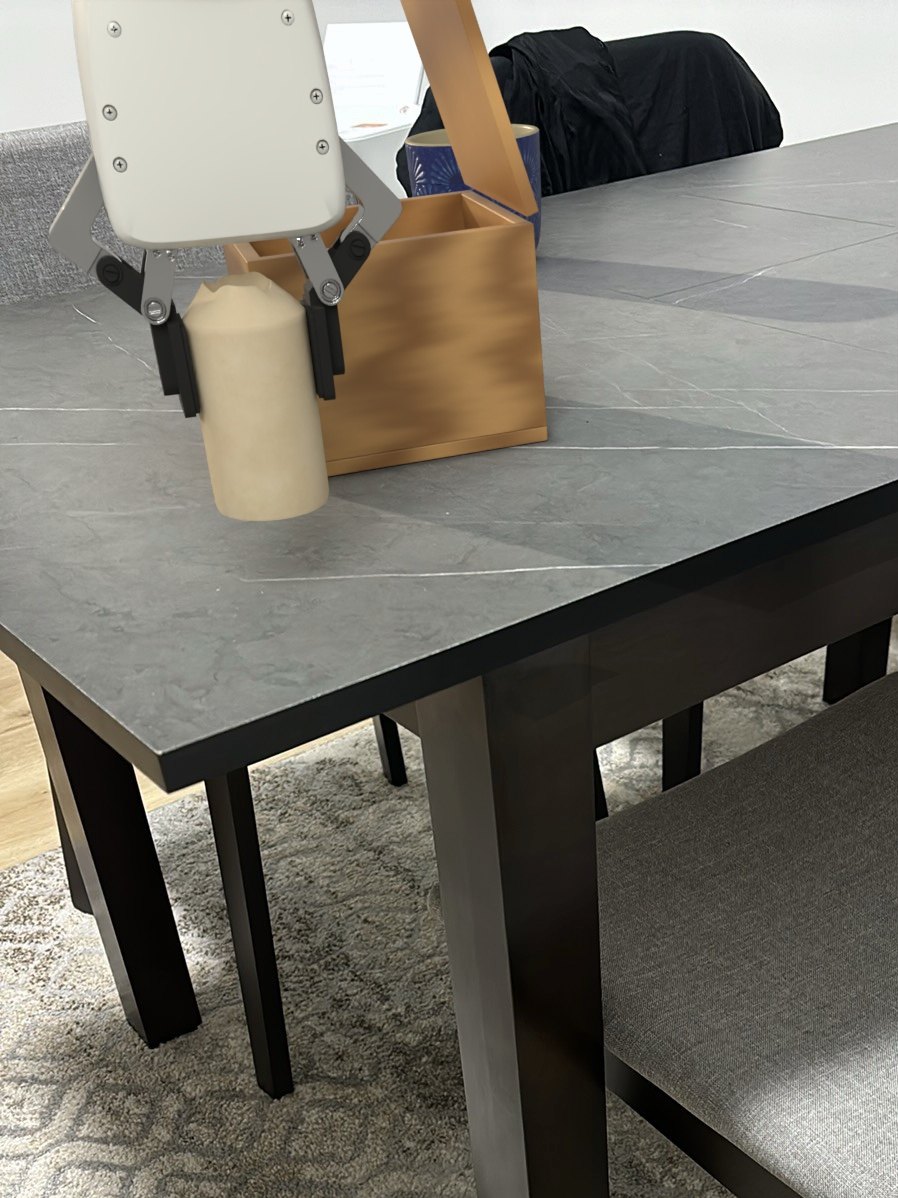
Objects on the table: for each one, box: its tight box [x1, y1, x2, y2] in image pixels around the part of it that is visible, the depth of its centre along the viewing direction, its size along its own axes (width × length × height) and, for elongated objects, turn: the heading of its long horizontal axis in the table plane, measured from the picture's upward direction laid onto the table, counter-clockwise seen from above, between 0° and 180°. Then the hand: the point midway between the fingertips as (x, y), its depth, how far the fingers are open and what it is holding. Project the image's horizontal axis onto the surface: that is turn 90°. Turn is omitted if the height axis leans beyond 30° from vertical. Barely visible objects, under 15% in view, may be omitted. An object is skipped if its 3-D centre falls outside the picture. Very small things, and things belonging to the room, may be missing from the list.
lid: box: [399, 0, 539, 217], centre depth 81 cm, size 18×15×5 cm
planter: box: [404, 123, 542, 252], centre depth 131 cm, size 12×12×11 cm
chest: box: [222, 190, 548, 478], centre depth 89 cm, size 17×15×12 cm
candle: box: [181, 272, 330, 522], centre depth 64 cm, size 6×6×10 cm
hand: (256, 397), depth 64 cm, fingers closed on candle, 5 cm apart
